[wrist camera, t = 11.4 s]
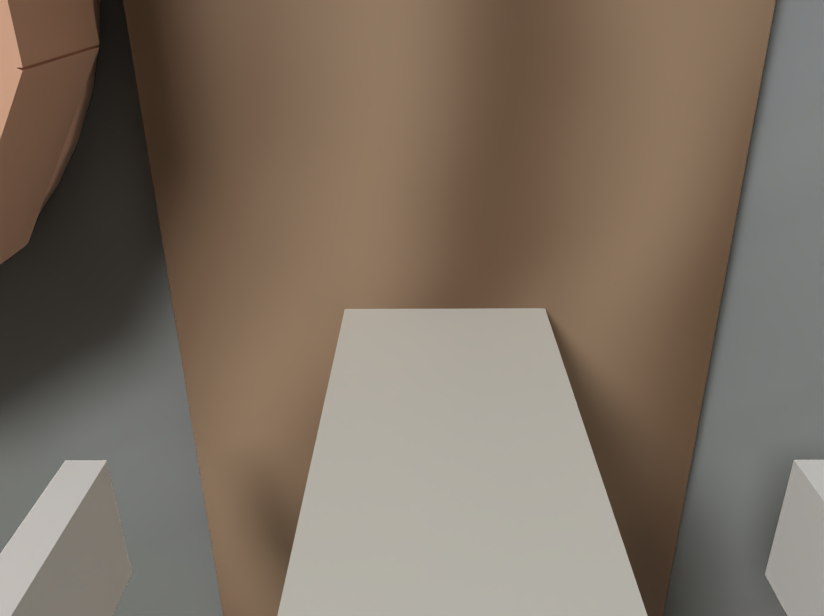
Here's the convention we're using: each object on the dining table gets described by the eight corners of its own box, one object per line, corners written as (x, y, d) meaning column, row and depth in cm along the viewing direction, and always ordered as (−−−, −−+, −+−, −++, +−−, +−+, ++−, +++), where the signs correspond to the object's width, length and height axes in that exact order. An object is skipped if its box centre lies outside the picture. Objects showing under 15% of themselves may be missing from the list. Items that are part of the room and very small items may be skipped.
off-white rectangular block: (545, 308, 17) (689, 740, 8) (532, 483, 19) (633, 987, 10) (344, 308, 17) (250, 738, 8) (354, 483, 19) (288, 983, 10)
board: (771, -53, 14) (785, -53, 13) (645, 664, 22) (650, 682, 22) (127, -45, 14) (115, -46, 14) (238, 662, 22) (233, 680, 22)
